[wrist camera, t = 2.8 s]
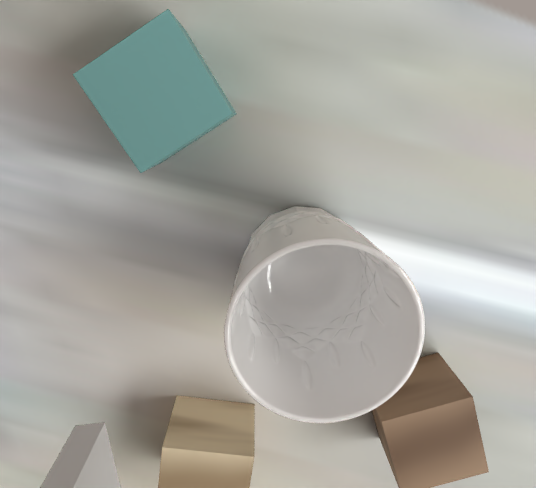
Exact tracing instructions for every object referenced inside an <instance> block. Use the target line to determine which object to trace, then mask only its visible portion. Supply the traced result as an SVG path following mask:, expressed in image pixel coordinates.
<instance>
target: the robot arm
mask: <svg viewBox="0 0 536 488" xmlns="http://www.w3.org/2000/svg"><path fill="white" fill-rule="evenodd" d="M40 488H121V486H120V482H119V478H118V474H117V469H116V465H115V461H114V457H113V453H112V449H111V445H110V441H109V437H108V433H107V429H106V425H105V422H102V423H94V424H85V425H77V426H75V427H74V429H73V431H72V432H71V434H70V436H69V438H68V439H67V441H66V443H65V445H64V447H63V448H62V450H61V452H60V454H59V455H58V457H57V459H56V461H55V462H54V464H53V466H52V468H51V469H50V471H49V473H48V475H47V476H46V478H45V480H44V482H43V483H42V485H41V487H40Z"/></svg>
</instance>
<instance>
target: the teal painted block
mask: <svg viewBox="0 0 536 488" xmlns="http://www.w3.org/2000/svg"><path fill="white" fill-rule="evenodd" d="M73 76H74V77H75V79H76V80H77V82H78V83H79V84H80V86H81V87H82V89H83V90H84V92H85V93H86V95H87V96H88V98H89V99H90V100H91V102H92V103H93V105H94V106H95V108H96V109H97V111H98V112H99V113H100V115H101V116H102V118H103V119H104V121H105V122H106V124H107V125H108V127H109V128H110V129H111V131H112V132H113V134H114V135H115V137H116V138H117V140H118V141H119V142H120V144H121V145H122V147H123V148H124V150H125V151H126V153H127V154H128V156H129V157H130V158H131V160H132V161H133V163H134V164H135V166H136V167H137V169H138V170H139V172H140V173H142V172H144V171H146V170H148V169H150V168H152V167H154V166H156V165H158V164H160V163H162V162H163V161H165V160H166V159H168V158H169V157H171V156H172V155H174V154H175V153H177V152H179V151H180V150H182V149H183V148H185V147H186V146H188V145H189V144H191V143H193V142H194V141H196V140H197V139H199V138H200V137H202V136H203V135H205V134H206V133H208V132H210V131H211V130H213V129H214V128H216V127H217V126H219V125H220V124H222V123H223V122H225V121H227V120H228V119H230V118H231V117H233V116H234V115H236V112H235V111H234V109H233V107H232V106H231V104H230V102H229V101H228V99H227V98H226V96H225V94H224V93H223V91H222V89H221V88H220V86H219V85H218V83H217V81H216V80H215V78H214V76H213V75H212V73H211V71H210V70H209V68H208V67H207V65H206V63H205V62H204V60H203V58H202V57H201V55H200V54H199V52H198V50H197V49H196V47H195V45H194V44H193V42H192V40H191V39H190V37H189V36H188V34H187V32H186V31H185V29H184V28H183V27H182V25H181V24H180V23H179V22H178V20H177V19H176V18H175V17H174V15H173V14H172V13H171V12H170V10H169V9H167V10H166V11H164V12H163V13H161V14H160V15H159V16H157V17H156V18H154V19H153V20H151V21H150V22H148V23H147V24H145V25H144V26H143V27H141V28H140V29H138V30H137V31H135V32H134V33H132V34H131V35H129V36H128V37H127V38H125V39H124V40H122V41H121V42H119V43H118V44H116V45H115V46H114V47H112V48H111V49H109V50H108V51H106V52H105V53H103V54H102V55H100V56H99V57H98V58H96V59H95V60H93V61H92V62H90V63H89V64H87V65H86V66H84V67H83V68H82V69H80V70H79V71H77V72H76V73H74V74H73Z"/></svg>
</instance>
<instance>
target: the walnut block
mask: <svg viewBox="0 0 536 488" xmlns="http://www.w3.org/2000/svg"><path fill="white" fill-rule="evenodd" d="M372 413H373V416H374V420H375V423H376V427H377V431H378V434H379V438H380V440H381V443H382V446H383V448H384V451H385V453H386V456H387V458H388V461H389V464H390V466H391V469H392V471H393V474H394V476H395V479H396V481H397V484H398V487H399V488H431V487H434V486H438V485H442V484H446V483H449V482H453V481H457V480H460V479H464V478H468V477H472V476H475V475H479V474H483V473H487V472H489V471H488V466H487V462H486V457H485V452H484V448H483V443H482V438H481V434H480V429H479V424H478V420H477V415H476V410H475V405H474V401H473V397H472V395H471V394H470V393H469V391H468V390H467V389H466V388H465V386H464V385H463V384H462V382H461V381H460V380H459V379H458V377H457V376H456V375H455V373H454V372H453V371H452V370H451V368H450V367H449V366H448V365H447V363H446V362H445V361H444V359H443V358H442V357H441V356H440V354H439V353H435V354H431V355H428V356H424V357H420V358H419V360H418V362H417V364H416V366H415V368H414V370H413V372H412V374H411V375H410V377H409V378H408V380H407V381H406V382H405V384H404V385H403V386H402V387H401V388H400V389H399V390H398V391H397V392H396V393H395V394H394V395H393V396H392V397H391V398H390V399H388V400H387V401H386V402H384V403H383V404H382V405H380V406H379V407H377V408H375V409H373V410H372Z"/></svg>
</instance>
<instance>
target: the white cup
mask: <svg viewBox="0 0 536 488" xmlns="http://www.w3.org/2000/svg"><path fill="white" fill-rule="evenodd" d="M424 336H425V318H424V311H423V306H422V303H421V300H420V297H419V294H418V292H417V290H416V288H415V286H414V284H413V283H412V281H411V280H410V278H409V277H408V275H407V274H406V273H405V272H404V271H403V269H402V268H401V267H400V266H399V265H398V264H397V263H396V262H394V261H393V260H392V259H391V258H389V257H388V256H387V255H386V254H385V253H383V252H382V251H381V250H380V249H379V248H377V247H376V246H375V245H374V244H373V243H372V242H371V241H369V240H368V239H367V238H366V237H365V236H364V235H362V234H361V233H360V232H358V231H357V230H355V229H354V228H353V227H351V226H350V225H349V224H347V223H346V222H344V221H343V220H341V219H339V218H336V217H335V216H333V215H331V214H330V213H328V212H326V211H325V210H323V209H321V208H312V207H300V206H293V207H291V208H288V209H285V210H283V211H280V212H277V213H275V214H272V215H270V216H269V217H268V218H267V219H266V220H265V221H264V222H263V223H262V224H261V225H260V226H259V227H258V228H257V229H256V230H255V231H254V232H253V233H252V235H251V238H250V241H249V244H248V247H247V249H246V250H245V252H244V254H243V257H242V260H241V263H240V266H239V269H238V272H237V275H236V278H235V282H234V287H233V291H232V295H231V299H230V303H229V307H228V311H227V314H226V319H225V327H224V343H225V350H226V355H227V358H228V362H229V364H230V367H231V369H232V371H233V373H234V375H235V377H236V379H237V380H238V382H239V383H240V385H241V386H242V387H243V388H244V390H245V391H246V392H247V393H248V394H249V395H250V396H251V397H252V398H253V399H254V400H255V401H257V402H258V403H259V404H261V405H262V406H263V407H265V408H267V409H268V410H270V411H272V412H274V413H276V414H278V415H280V416H283V417H286V418H289V419H292V420H296V421H301V422H308V423H333V422H339V421H344V420H348V419H352V418H355V417H358V416H361V415H363V414H365V413H368V412H370V411H372V410H373V409H375V408H377V407H379V406H380V405H382V404H383V403H384V402H386V401H387V400H388V399H390V398H391V397H392V396H393V395H394V394H395V393H396V392H397V391H398V390H399V389H400V388H401V387H402V386H403V385H404V384H405V382H406V381H407V380H408V378H409V377H410V375H411V374H412V372H413V370H414V368H415V366H416V364H417V362H418V360H419V357H420V354H421V351H422V347H423V343H424Z"/></svg>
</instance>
